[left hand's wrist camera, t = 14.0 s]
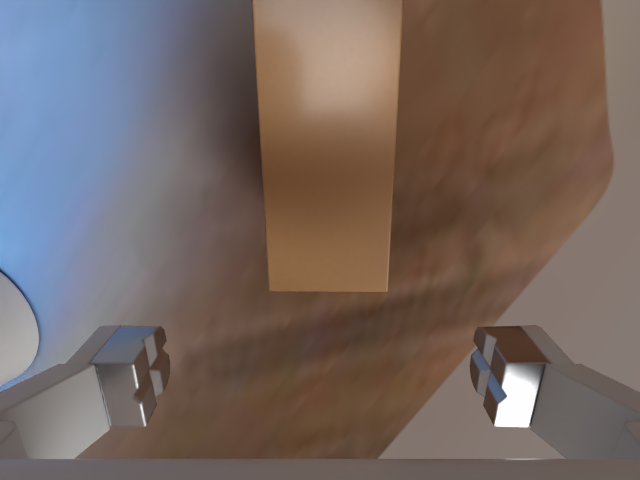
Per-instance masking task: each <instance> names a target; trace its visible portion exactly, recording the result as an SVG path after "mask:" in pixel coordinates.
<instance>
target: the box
mask: <svg viewBox="0 0 640 480" xmlns="http://www.w3.org/2000/svg"><path fill="white" fill-rule="evenodd" d="M403 1H404V0H252V14H253V31H254V47H255V64H256V80H257V97H258V113H259V130H260V147H261V163H262V180H263V196H264V213H265V230H266V246H267V263H268V279H269V290H270V291H352V292H387V290H388V274H389V256H390V238H391V220H392V201H393V183H394V165H395V147H396V128H397V110H398V92H399V74H400V55H401V37H402V19H403Z"/></svg>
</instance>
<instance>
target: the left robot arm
mask: <svg viewBox="0 0 640 480" xmlns="http://www.w3.org/2000/svg"><path fill="white" fill-rule="evenodd" d="M165 342H166V336H165V331H164V329H163V328H162V327H161V326H121V325H113V326H101V327H99V328H98V329H97V330H96V331H95V332H94V333H93V335H92V336H91V337H90V338H89V339H88V340H87V341H86V342H85V343H84V344H83V345H82V347H81V348H80V349H79V350H78V351H77V352H76V353H75V354H74V355H73V356H72V357H71V358H70V360H69V361H68V362H67V363H66V364H58V365H56V366H54V367H52V368H50V369H48V370H46V371H43V372H41V373H39V374H37V375H35V376H33V377H31V378H29V379H27V380H25V381H23V382H20V383H18V384H16V385H14V386H12V387H10V388H8V389H6V390H4V391H2V392H0V480H640V392H638V391H636V390H634V389H632V388H630V387H628V386H626V385H624V384H621V383H619V382H617V381H615V380H613V379H611V378H609V377H607V376H605V375H603V374H601V373H599V372H597V371H594V370H592V369H590V368H588V367H586V366H584V365H582V364H574V363H573V362H572V361H571V360H570V358H568V356H567V355H566V354H565V353H564V352H563V351H562V350H561V349H560V348H559V347H558V345H557V344H556V343H555V342H554V341H553V340H552V339H551V338H550V337H549V336H548V335H547V333H546V332H545V331H544V330H543V329H542V328H541V327H539V326H536V325H528V326H500V327H477V329H476V331H475V336H474V342H475V344H476V346H477V347H478V349H477V350H476V351H475V352H474V353H473V354H472V355H471V361H470V373H471V379H472V383H473V386H474V388H475V390H476V392H477V393H479V394H480V395H482V396H483V397H484V398H485V399H484V407H485V409H486V411H487V413H488V415H489V417H490V419H491V421H492V423H493V425H494V426H501V427H530V429H531V430H532V431H533V432H534V433H536V434H537V435H538V436H539V437H541V438H542V439H543V440H544V441H545V442H547V443H548V444H549V445H550V446H552V447H553V448H554V449H555V450H556V451H558V452H559V453H560V454H561V455H563V456H564V457H565V458H566V459H74V458H75V457H76V456H78V455H79V454H80V453H81V452H83V451H84V450H85V449H86V448H87V447H89V446H90V445H91V444H92V443H94V442H95V441H96V440H97V439H98V438H100V437H101V436H102V435H103V434H105V433H106V432H107V431H108V430H109V429H110V427H138V426H146V425H147V423H148V421H149V419H150V417H151V415H152V413H153V411H154V409H155V407H156V406H157V405H156V399H155V398H156V397H157V396H158V395H160V394H161V393H163V392H164V390H165V388H166V385H167V383H168V379H169V374H170V360H169V355H168V354H167V353H166V352H165V351H164V350H163V349H162V347H163V346H164V344H165ZM38 345H39V332H38V326H37V322H36V319H35V316H34V314H33V311H32V309H31V307H30V305H29V304H28V302H27V300H26V299H25V297H24V296H23V295H22V293H21V292H20V291H19V289H18V288H17V287H16V286H15V285H14V284H13V283H12V282H11V281H10V280H9V279H8V278H7V277H6V276H5V275H3V274H2V273H1V272H0V386H2V385H3V384H5V383H7V382H8V381H10V380H12V379H14V378H16V377H18V376H19V375H21V374H22V373H23V372H24V371H26V370H27V369H28V367H29V366H30V365H31V364H32V362H33V360H34V359H35V356H36V354H37V350H38Z"/></svg>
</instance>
